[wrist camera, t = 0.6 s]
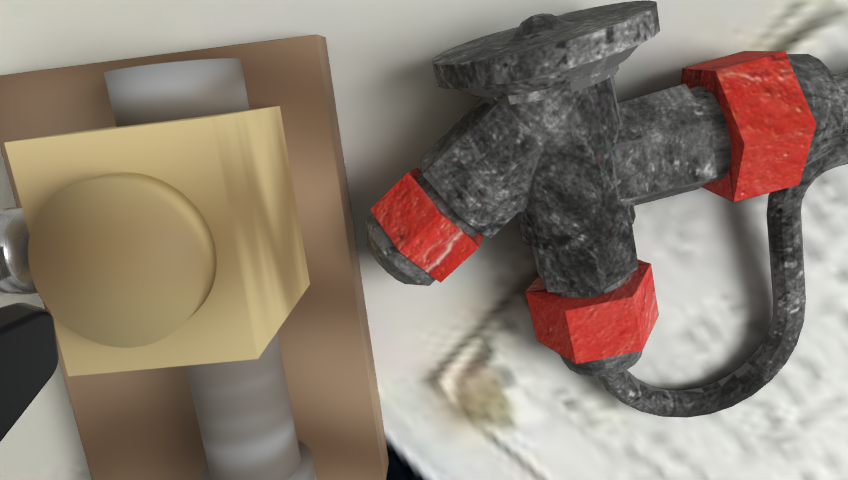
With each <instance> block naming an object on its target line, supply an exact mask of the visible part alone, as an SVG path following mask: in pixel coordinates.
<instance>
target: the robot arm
mask: <svg viewBox="0 0 848 480" xmlns="http://www.w3.org/2000/svg"><path fill="white" fill-rule="evenodd" d="M58 359H59V356H58V348H57V340H56V333H55V325H54V319H53V316H52V315H51V313H50V312H49V311H47V310H45V309H42V308H39V307H36V306H32V305H29V304H25V303H16V304H12V305H8V306H4V307H1V308H0V441H1V440H2V439H3V438H4V436H5V435H6V434H7V432H8V431H9V430H10V429H11V427H12V426H13V425H14V424H15V422H16V421H17V420H18V418H19V417H20V416H21V415H22V413H23V412H24V411H25V409H26V408H27V407H28V406H29V404H30V403H31V402H32V401H33V399H34V398H35V397H36V395H37V394H38V393H39V392H40V390H41V389H42V388H43V387H44V385H45V384H46V383H47V381H48V380H49V379H50V378H51V376H52V375H53V373H54V371H55V369H56V367H57V364H58Z"/></svg>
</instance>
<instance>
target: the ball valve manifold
mask: <svg viewBox="0 0 848 480" xmlns="http://www.w3.org/2000/svg"><path fill="white" fill-rule="evenodd" d="M0 147H1V151H2V154H3V158H4V162H5V165H6V169H7V173H8V176H9V180H10V183H11V187H12V191H13V194H14V198H15V202H16V205H17V208H19V207H22V210H23V213H24V217H25V221H26V224H27V228H28V231H29V235H30V237H29V242H28V262H29V268H30V273H31V276H32V279H33V282H34V285H35V287H36V289H37V291H38V294H39V296H40V297H41V299H42V300H43V303H44V307H45V310H47V311H49V312H50V313H51V315H52V316H53V319H54V325H55V333H56V340H57V348H58V356H59V361H60V365H61V368H62V372H63V375H64V379H65V383H66V386H67V390H68V394H69V397H70V401H71V404H72V408H73V412H74V415H75V419H76V423H77V426H78V430H79V433H80V437H81V441H82V444H83V448H84V452H85V455H86V459H87V462H88V466H89V470H90V473H91V477H92V480H386V475H387V469H388V464H389V461H388V454H387V447H386V440H385V434H384V427H383V420H382V414H381V407H380V400H379V394H378V387H377V380H376V373H375V367H374V360H373V353H372V347H371V340H370V333H369V327H368V320H367V313H366V306H365V300H364V293H363V286H362V280H361V273H360V266H359V260H358V253H357V246H356V239H355V233H354V226H353V219H352V213H351V206H350V199H349V192H348V186H347V179H346V172H345V166H344V159H343V152H342V146H341V139H340V132H339V125H338V119H337V112H336V105H335V99H334V92H333V85H332V79H331V72H330V65H329V58H328V52H327V45H326V38H325V37H322V36H319V35H309V36H301V37H293V38H286V39H278V40H270V41H263V42H255V43H247V44H239V45H232V46H224V47H216V48H209V49H201V50H193V51H186V52H178V53H170V54H162V55H155V56H147V57H139V58H132V59H124V60H116V61H109V62H101V63H93V64H85V65H78V66H70V67H62V68H55V69H47V70H39V71H31V72H24V73H16V74H8V75H1V76H0Z"/></svg>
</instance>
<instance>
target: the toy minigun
mask: <svg viewBox="0 0 848 480" xmlns="http://www.w3.org/2000/svg"><path fill="white" fill-rule="evenodd" d="M659 31H660V27H659V19H658V11H657V3H656V2H654V1H632V2H623V3H617V4H611V5H605V6H599V7H594V8H589V9H584V10H579V11H575V12H571V13H566V14H563V15H559V16H554V15H552V14H538V15H535V16H531V17H529V18H528V19H526V20H525V21H523V22H522V23H521V25H520V26H519V27H516V28H513V29H509V30H506V31H502V32H498V33H495V34H491V35H488V36H484V37H481V38H478V39H476V40H473V41H470V42H467V43H465V44H462V45H459V46H457V47H455V48H452V49H450V50H448V51H446V52H444V53H442V54H440V55H438V56H437V57H435V58H434V59H433V60H432V64H433V68H434V72H435V76H436V79H437V83H438V86H439V87H443V88H446V89H461V90H463V91H465V92H467V93H469V94H471V95H473V96H478V97H483V98H482V99H481V100H480V101H479V102H478V103H477V104H476V105H475V106H474V107H473V108H472V109H471V110H470V111H469V112H468V113H467V114H466V115H465V116H464V117H463V118H462V119H461V120H460V121H459V122H458V123H457V124H456V125H455V126H454V127H453V128H452V129H451V130H450V131H449V132H448V133H447V134H446V135H445V136H444V137H443V138H442V139H441V140H439V141H438V142H437V143H436V144H435V145H434V146H433V147H432V148H431V149H430V150H429V151H428V152H427V153H426V154H425V155H424V156H423V157H422V158H421V159H420V163H421V169H422V172H421V171H420V170H419V169H418V168H417V169H414V170H412V171H409V172H407V173H406V174H405V175H404V176H403V177H402V178H401V179H400V180H399V181H398V182H397V183H396V184H395V185H394V186H393V187H392V188H391V189H390V190H389V191H388V192H387V193H386V194H385V195H384V196H383V197H382V198H381V199H380V200H379V201H378V202H377V203H376V204H375V205H374V206H373V207H372V208H371V209H370V210H371V211H372V213H373V214H372V215H371V216H370V217H369V218H368V219H367V245H368V247H369V249H370V252H371V254H372V255H373V256H374V258H375V259H376V260H377V262H378V263H379V264H380V265H381V266H382V267H383V268H384V269H385V270H386V271H387V272H388V273H389V274H390V275H391V276H393V277H394V278H395V279H397V280H398V281H400V282H402V283H404V284H413V285H426V286H429V285H431V284H432V283H433V282H434V281H435V280H438V281H439V282H440V283H441V282H442V281H443V280H444V279H445V278H446V277H447V276H448V275H449V274H450V273H452V272H453V271H454V270H455V269H456V268H457V267H458V266H459V265H460V264H461V263H462V262H464V261H465V260H466V259H467V258H468V257H469V256H470V255H471V254H472V253H473V252H474V251H475V250H477V249H478V248H479V246H480V244H481V241H482V239H483V236H482V234H481V233H483V234H484V235H485V236H487V237H488V238H490V239H491V238H492V237H493V236H494V235H495V234H496V233H497V232H498V231H499V230H500V229H501V228H502V227H504V226H505V225H506V224H507V223H508V222H509V221H510V220H511V219H512V218H513V217H514V216H515V215H517V219H518V223H519V227H520V231H521V235H522V240H524V241H525V242H526V243H527V244H528V245H530V246H531V247H532V252H533V256H534V261H535V265H536V269H537V272H538V274H539V275H538V276H537V278H536V279H535V280H534V281H533V283H532V284H531V285H530V287H529V288H528V289H527V290H526V296H527V300H528V305H529V309H530V313H531V317H532V321H533V326H534V330H535V334H536V338H537V341H538V342H540V343H542V344H543V345H545V346H547V347H549V348H550V349H552V350H554V351H555V352H557V353H559V355H560V356H561V358H562V360H563V361H564V363H565V364H566V365H567V366H568V368H569V369H570V370H572V371H574V372H576V373H578V374H581V375H587V376H593V377H599V378H600V380H601V381H602V383H603V384H604V386H605V387H606V388H607V390H609V391H610V392H611V393H612V394H613V395H614V396H616V397H617V398H618V399H619V400H620V401H622V402H623V403H625V404H627V405H629V406H631V407H633V408H635V409H637V410H639V411H642V412H646V413H650V414H654V415H658V416H664V417H693V416H700V415H707V414H711V413H714V412H717V411H720V410H723V409H726V408H729V407H732V406H734V405H736V404H737V403H739V402H741V401H743V400H745V399H747V398H748V397H750V396H752V395H753V394H755V393H756V392H757V391H758V390H760V389H761V388H762V387H763V386H765V385H766V384H767V383H768V382H770V381H771V380H772V379H773V377H774V376H775V375H776V374H777V373H778V372H779V371H780V369H781V368H782V367H783V366H784V365H785V364H786V362H787V360H788V358H789V357H790V355H791V353H792V352H793V350H794V348H795V346H796V345H797V342H798V339H799V335H800V332H801V329H802V326H803V323H804V314H805V300H806V296H805V278H804V259H803V241H802V223H801V205H802V199H803V197H804V195H805V192H806V190H807V188H808V187H809V186H810V185H811V183H812V182H813V181H814V180H815V179H816V178H817V177H818V176H820V175H821V174H822V173H824V172H825V171H827V170H830V169H832V168H835V167H837V166H841V165H845V164H848V131H847V132H843V133H842V129H843V124H844V117H846V116H848V72H847V73H843V74H839V75H835V76H833V74H832V73H831V72H830V70H829V69H828V68H827V67H826V66H825V65H824V64H823V63H822V62H821V61H820V60H819V59H817V58H815V57H813V56H811V55H809V54H786V52H773V51H743V52H739V53H736V54H732V55H729V56H725V57H721V58H718V59H714V60H711V61H707V62H704V63H700V64H696V65H693V66H689V67H686V68H683V70H682V81H681V85H678V86H674V87H671V88H668V89H664V90H661V91H657V92H654V93H650V94H647V95H643V96H640V97H637V98H633V99H630V100H626V101H623V102H619V103H617V98H616V91H615V84H614V76H613V75H614V74H616V72H617V70H618V69H619V68H618V64H620V63H621V62H623V61H624V60H626V59H627V58H628V57H629V56H630V54H631V53H632V52H633V51H634V50H635V49H636V48H637V46H638V45H639V44H641V43H643V42H644V41H646V40H648V39H650V38H652V37H654V36H655V35H656V34H657V33H658V32H659ZM700 187H703V188H705V189H707V190H709V191H711V192H713V193H715V194H717V195H720V196H722V197H724V198H726V199H728V200H730V201H732V202H737V201H740V200H744V199H748V198H752V197H755V196H759V195H763V194H767V193H770V194H769V196H768V207H767V226H768V239H769V252H770V266H771V279H772V292H773V315H772V321H771V324H770V327H769V330H768V333H767V334H766V336H765V338H764V340H763V342H762V343H761V345H760V347H759V348H758V349H757V350H756V352H755V353H754V354H753V355H752V356H751V357H750V359H749V360H748V361H747V362H746V363H744V364H743V365H742V366H741V367H739V368H738V369H737V370H736V371H734V372H733V373H731V374H730V375H728V376H726V377H724V378H723V379H721V380H719V381H717V382H715V383H712V384H709V385H706V386H703V387H700V388H695V389H689V390H683V391H680V390H665V389H661V388H657V387H653V386H650V385H648V384H646V383H644V382H642V381H640V380H638V379H637V378H635V377H634V376H633V375H632V374H631V373H630V372H628V371H627V369H628V368H630V367H632V366H633V365H635V364H636V362H637V361H638V360H639V359H640V357H641V355H642V350H643V348H644V346H645V343H646V341H647V339H648V337H649V335H650V333H651V331H652V328H653V326H654V324H655V322H656V320H657V318H658V315H659V314H658V308H657V301H656V295H655V288H654V281H653V275H652V268H651V264H649V263H646V262H643V261H640V260H637V254H636V248H635V241H634V235H633V229H632V224H633V223H634V219H635V212H634V206H635V205H639V204H643V203H646V202H650V201H654V200H658V199H662V198H665V197H669V196H673V195H677V194H681V193H684V192H688V191H692V190H696V189H698V188H700ZM480 232H481V233H480Z"/></svg>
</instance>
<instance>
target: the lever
mask: <svg viewBox="0 0 848 480" xmlns="http://www.w3.org/2000/svg"><path fill="white" fill-rule="evenodd" d="M29 237H30V235H29V231H28V228H27V224H26V221H25V217H24V213H23V210H22V207H19V208H10V209H1V210H0V297H2V296H12V295H22V294H31V293H38V291H37V289H36V287H35V285H34V282H33V279H32V276H31V273H30V268H29V262H28V242H29Z"/></svg>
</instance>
